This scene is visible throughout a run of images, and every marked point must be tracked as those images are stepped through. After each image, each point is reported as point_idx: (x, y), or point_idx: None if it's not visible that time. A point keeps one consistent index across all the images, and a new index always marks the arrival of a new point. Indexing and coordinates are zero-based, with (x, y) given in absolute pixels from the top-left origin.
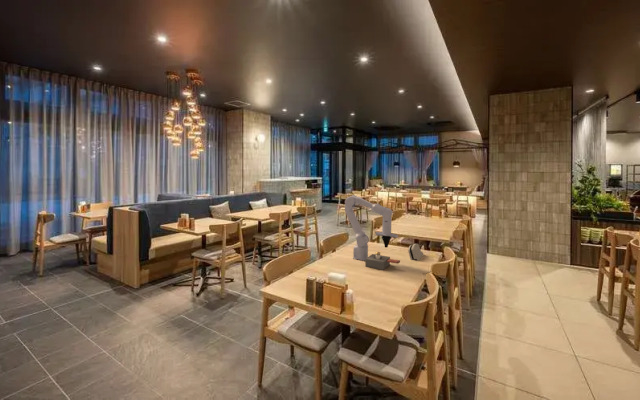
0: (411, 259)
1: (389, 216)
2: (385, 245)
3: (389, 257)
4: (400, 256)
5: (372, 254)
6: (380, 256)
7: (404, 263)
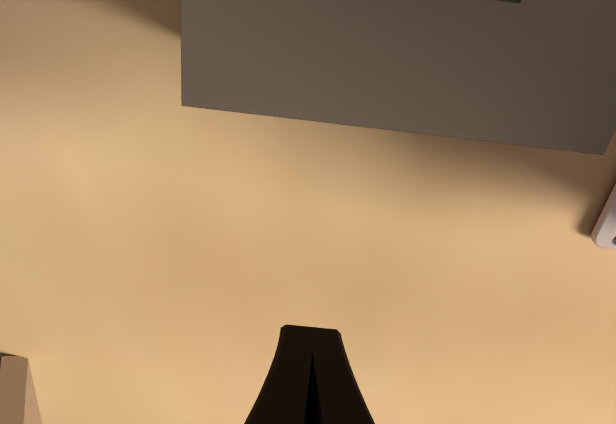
0: (11, 358)
1: None
2: (319, 364)
3: (181, 64)
4: (184, 414)
5: (605, 122)
6: (400, 44)
7: (21, 191)
